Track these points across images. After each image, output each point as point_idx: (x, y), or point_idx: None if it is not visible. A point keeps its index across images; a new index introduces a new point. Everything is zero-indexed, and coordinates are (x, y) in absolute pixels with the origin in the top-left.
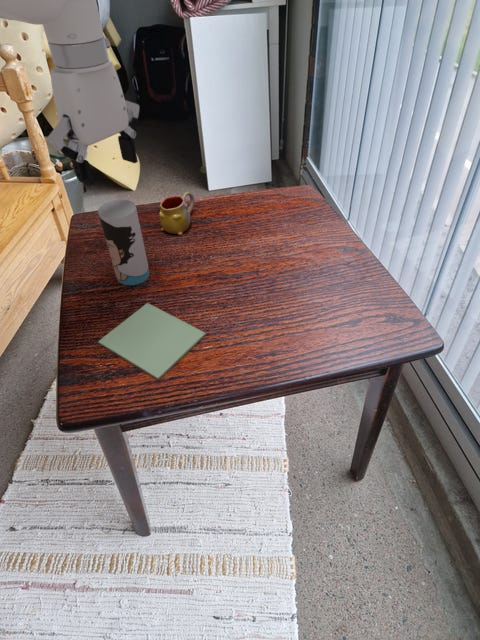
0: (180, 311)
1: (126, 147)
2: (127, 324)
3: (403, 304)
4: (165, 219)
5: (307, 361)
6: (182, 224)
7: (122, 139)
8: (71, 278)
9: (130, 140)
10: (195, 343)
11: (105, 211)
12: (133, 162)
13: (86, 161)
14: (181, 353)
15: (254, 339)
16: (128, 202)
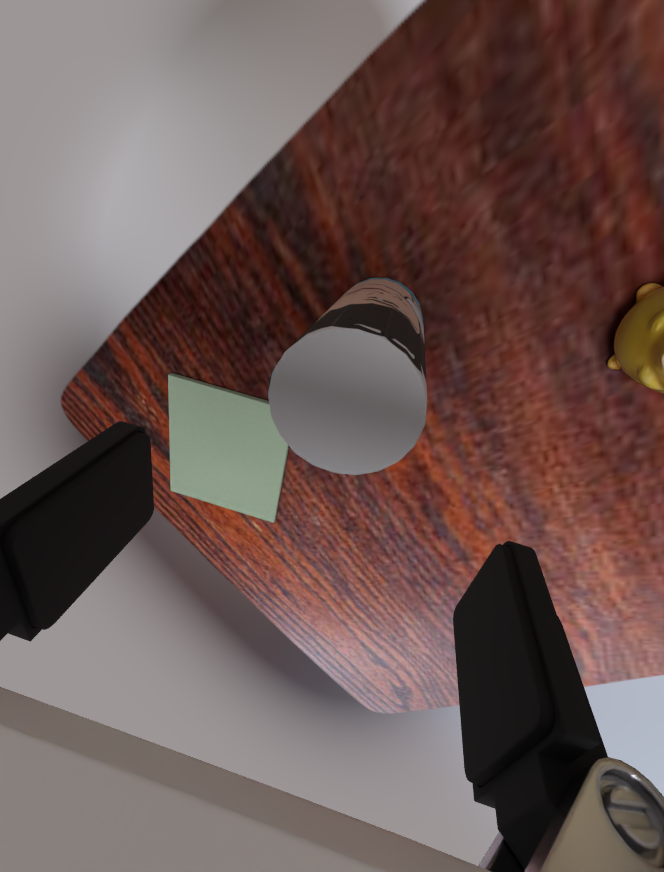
0: (307, 469)
1: (481, 686)
2: (227, 403)
3: (434, 704)
4: (641, 336)
5: (292, 622)
6: (636, 381)
7: (506, 747)
8: (300, 143)
9: (476, 794)
10: (250, 514)
11: (307, 375)
12: (456, 610)
13: (23, 635)
14: (221, 504)
15: (299, 573)
16: (407, 428)
